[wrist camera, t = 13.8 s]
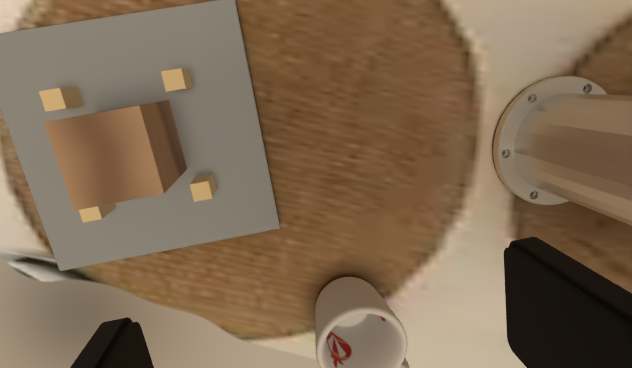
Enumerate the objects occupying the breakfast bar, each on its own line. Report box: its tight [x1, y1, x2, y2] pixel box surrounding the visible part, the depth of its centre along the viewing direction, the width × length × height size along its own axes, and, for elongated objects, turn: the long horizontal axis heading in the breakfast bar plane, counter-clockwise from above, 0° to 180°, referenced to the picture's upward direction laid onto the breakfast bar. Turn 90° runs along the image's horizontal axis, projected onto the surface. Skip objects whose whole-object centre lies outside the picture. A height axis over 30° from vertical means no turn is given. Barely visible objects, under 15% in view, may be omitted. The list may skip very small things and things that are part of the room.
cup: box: [315, 277, 409, 368], centre depth 38 cm, size 11×8×8 cm
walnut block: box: [44, 100, 187, 211], centre depth 30 cm, size 6×6×8 cm
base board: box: [0, 0, 280, 271], centre depth 33 cm, size 20×20×4 cm
